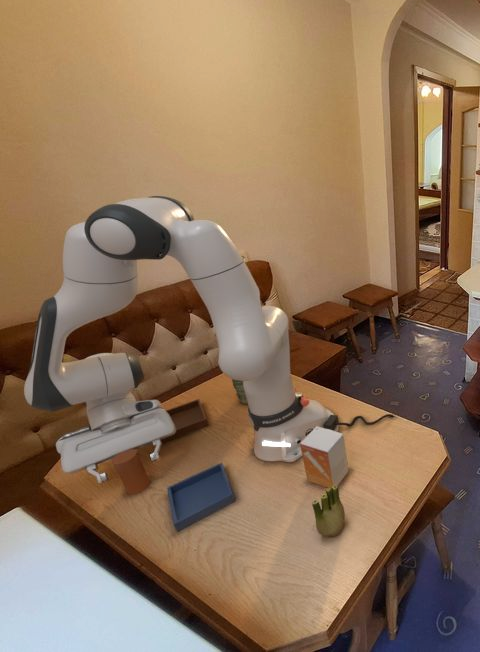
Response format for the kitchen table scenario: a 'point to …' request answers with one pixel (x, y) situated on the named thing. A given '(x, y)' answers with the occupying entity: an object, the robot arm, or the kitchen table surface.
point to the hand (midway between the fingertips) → (130, 470)
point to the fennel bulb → (329, 513)
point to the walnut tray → (187, 419)
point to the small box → (324, 457)
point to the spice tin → (131, 471)
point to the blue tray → (199, 496)
